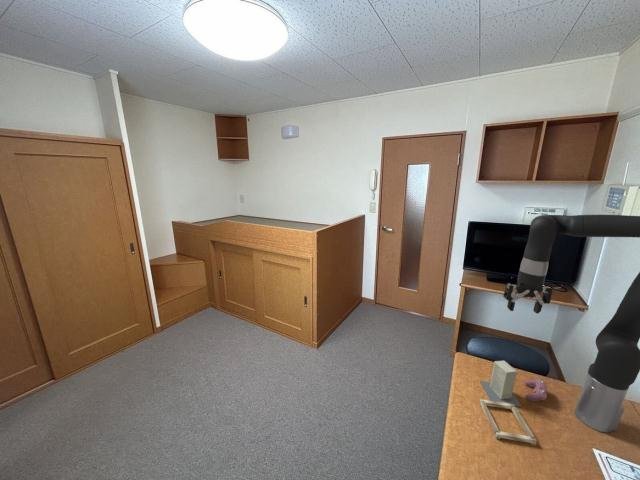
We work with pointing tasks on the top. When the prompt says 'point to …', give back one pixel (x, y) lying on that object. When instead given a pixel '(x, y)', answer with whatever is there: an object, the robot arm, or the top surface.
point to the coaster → (494, 397)
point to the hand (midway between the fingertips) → (523, 311)
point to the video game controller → (537, 390)
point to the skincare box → (503, 379)
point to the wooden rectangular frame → (499, 434)
